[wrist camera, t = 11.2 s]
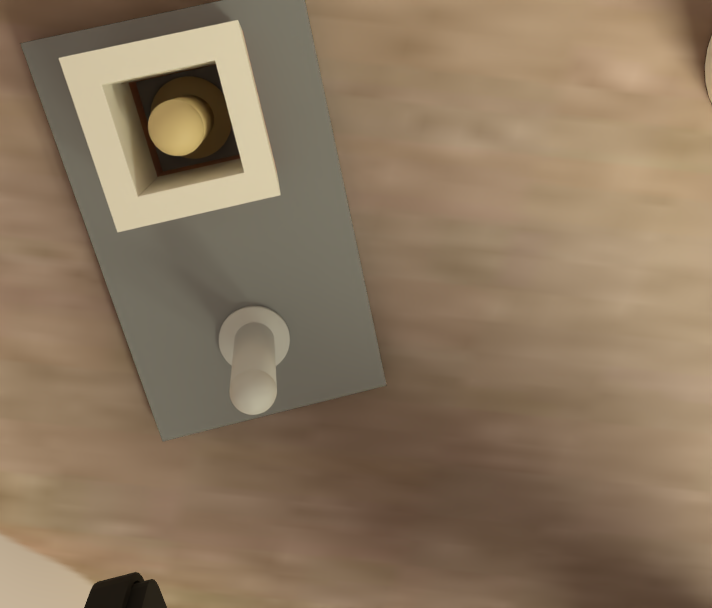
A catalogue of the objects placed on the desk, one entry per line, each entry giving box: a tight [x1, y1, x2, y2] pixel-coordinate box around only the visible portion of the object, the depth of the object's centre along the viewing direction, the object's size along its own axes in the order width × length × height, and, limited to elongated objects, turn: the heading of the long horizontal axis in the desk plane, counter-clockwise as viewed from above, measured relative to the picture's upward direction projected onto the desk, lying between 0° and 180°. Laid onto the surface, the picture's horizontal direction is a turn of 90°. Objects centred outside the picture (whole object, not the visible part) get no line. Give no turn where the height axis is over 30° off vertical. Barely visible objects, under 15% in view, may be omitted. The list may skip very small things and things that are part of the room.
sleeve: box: [59, 20, 281, 232], centre depth 24 cm, size 6×6×6 cm
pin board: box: [20, 0, 387, 441], centre depth 27 cm, size 18×11×8 cm, turn 12°
